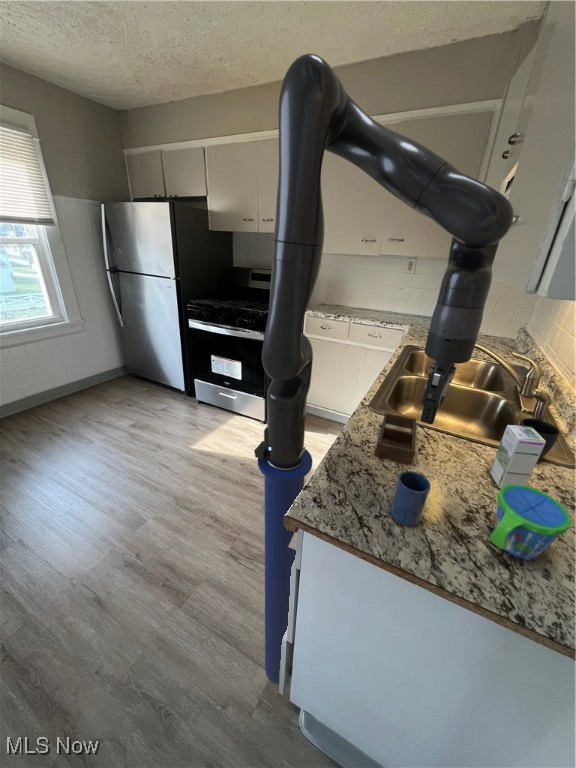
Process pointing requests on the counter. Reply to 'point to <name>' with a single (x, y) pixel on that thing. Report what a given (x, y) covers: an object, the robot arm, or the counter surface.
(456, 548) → the counter surface
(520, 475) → the syrup box
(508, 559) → the counter surface
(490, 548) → the counter surface
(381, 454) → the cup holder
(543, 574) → the counter surface
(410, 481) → the tumbler
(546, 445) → the mug
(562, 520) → the snack cup
